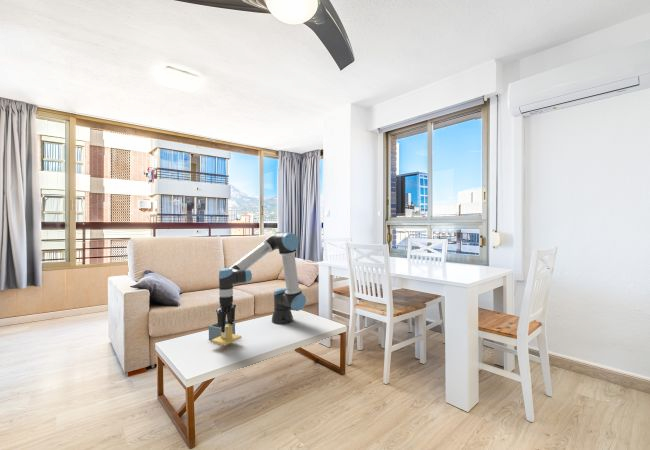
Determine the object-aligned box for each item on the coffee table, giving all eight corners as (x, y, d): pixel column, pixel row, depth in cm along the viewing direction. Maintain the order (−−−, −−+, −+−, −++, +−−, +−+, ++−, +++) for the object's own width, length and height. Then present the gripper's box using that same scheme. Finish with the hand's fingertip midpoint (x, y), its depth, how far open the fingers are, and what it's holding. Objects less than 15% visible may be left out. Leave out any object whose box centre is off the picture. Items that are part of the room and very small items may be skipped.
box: (223, 332, 199) (223, 320, 199) (235, 335, 195) (235, 322, 195) (208, 339, 189) (208, 326, 189) (220, 341, 184) (220, 328, 184)
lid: (228, 336, 186) (227, 321, 186) (241, 339, 181) (241, 323, 181) (211, 343, 175) (211, 327, 175) (225, 347, 170) (224, 330, 170)
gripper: (231, 292, 186) (231, 330, 187) (210, 298, 172) (210, 340, 172) (240, 293, 183) (241, 332, 183) (220, 299, 169) (220, 342, 169)
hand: (226, 336), depth 178 cm, fingers closed on lid, 3 cm apart
